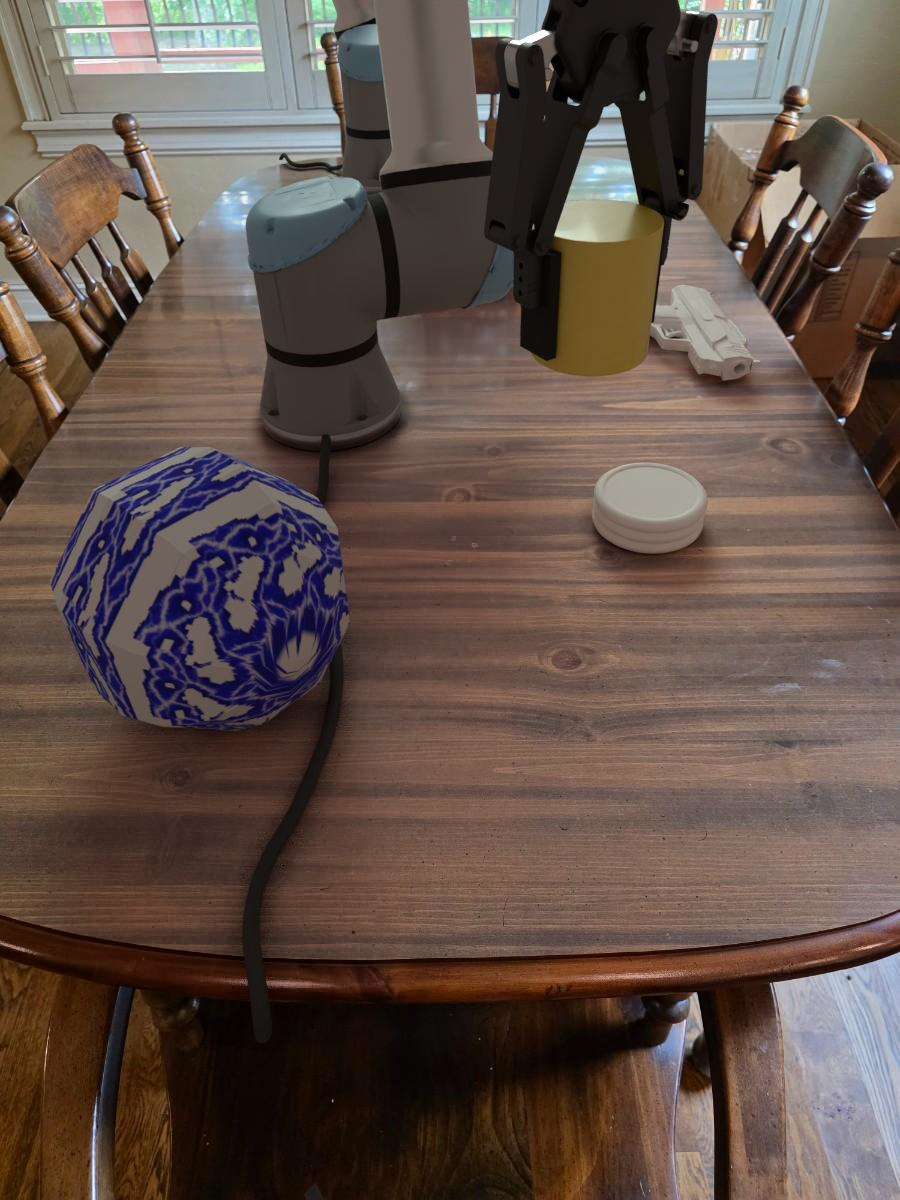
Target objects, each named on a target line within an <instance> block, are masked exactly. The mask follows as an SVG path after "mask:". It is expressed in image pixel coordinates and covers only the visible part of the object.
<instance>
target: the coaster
mask: <svg viewBox="0 0 900 1200" xmlns="http://www.w3.org/2000/svg"><path fill="white" fill-rule="evenodd" d="M708 501H709V500H708V495H707V492H706V490H705V488H704V487H703V485H702V484H701V483H700V482H699V480H697V479H696V478H695V477H694V476H693V475H691V474H690V473H688V472H686V471H684V470H682V469H680V468H678V467H676V466H672V465H668V464H664V463H658V462H646V461H645V462H643V461H642V462H634V463H633V462H632V463H626V464H622V465H620V466H616V467H614V468H612V469H609V470H608V471H607V472H605V473H604V474H602V475H601V476H600V477H599V479H598V480H597V482H596V484H595V486H594V488H593V499H592V509H591V518H592V523H593V526H594V527H595V530H596V531H597V532H598V533H599V534H600V535H601V537H603V538H604V539H605V540H607V541H608V542H610V543H611V544H613V545H615V546H617V547H619V548H621V549H623V550H624V549H625V550H627V551H631V552H635V553H639V554H651V555H652V554H653V555H654V554H655V555H656V554H666V553H671V552H675V551H678V550H682V549H684V548H686V547H688V546H690V545H691V544H692V543H693V542H695V541H696V540H697V539H698V538H699V536H700V535H701V533H702V531H703V528H704V521H705V518H706V511H707V509H708V505H709V503H708Z"/></svg>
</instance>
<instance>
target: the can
mask: <svg viewBox="0 0 900 1200" xmlns="http://www.w3.org/2000/svg"><path fill="white" fill-rule="evenodd" d="M663 228H664V219H663V217H662V216H661V215H660V214H659V213H658V212H656V211H655V210H653V209H651V208H649V207H646V206H643V205H640V204H639V203H636V202H631V201H626V200H618V199H607V198H606V199H605V198H604V199H603V198H598V199H597V198H596V199H595V198H593V199H592V198H591V199H590V198H589V199H577V200H576V199H575V200H569V201H566V202H565V205H564V208H563V211H562V214H561V217H560V220H559V223H558V226H557V229H556V232H555V235H554V238H553V241H552V244H551V247H550V248H551V249H554V250H556V251H558V252H560V253H562V254H561V273H560V291H559V310H558V329H557V347H556V358H554V359H551V360H549V361H545V360H544V359H542V358H540V357H538V356H537V355H535V354H533V353H531V352H530V354H531V356H532V358H533V359H534V360H535V361H536V362H537V363H538V364H540V365H541V366H543V367H545V368H547V369H549V370H552V371H555V372H558V373H561V374H564V375H570V376H577V377H605V376H606V377H608V376H613V375H619V374H622V373H625V372H629V371H631V370H633V369H635V368H637V367H638V366H640V365H641V364H642V363H643V362H644V361H645V360H646V359H647V356H648V353H649V343H650V337H651V336H650V329H651V321H652V313H653V306H654V298H655V290H656V282H657V274H658V267H659V259H660V251H661V243H662V236H663Z"/></svg>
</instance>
